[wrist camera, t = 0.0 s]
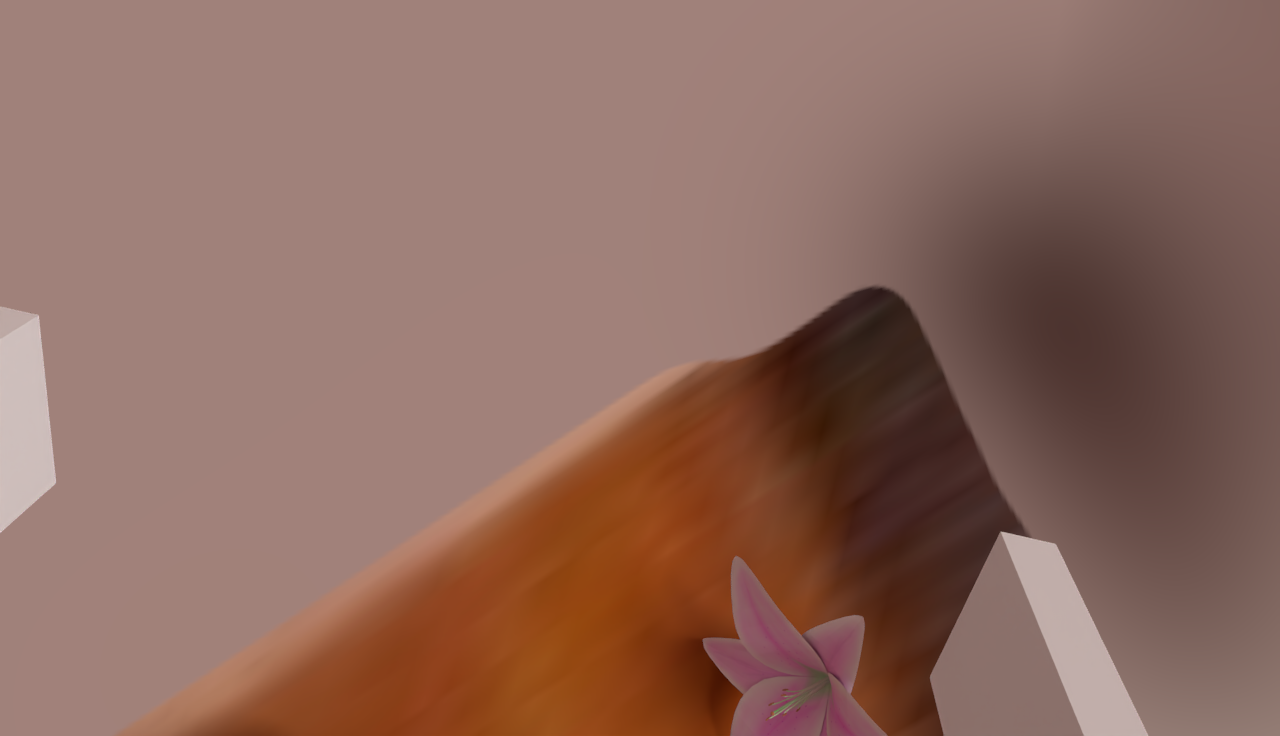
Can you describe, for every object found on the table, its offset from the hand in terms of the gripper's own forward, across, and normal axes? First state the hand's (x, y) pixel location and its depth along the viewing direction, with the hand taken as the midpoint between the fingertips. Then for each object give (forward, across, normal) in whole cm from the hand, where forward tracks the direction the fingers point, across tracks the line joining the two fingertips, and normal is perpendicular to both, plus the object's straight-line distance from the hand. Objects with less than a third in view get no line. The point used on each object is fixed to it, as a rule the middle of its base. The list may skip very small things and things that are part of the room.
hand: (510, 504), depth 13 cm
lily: (+26, -12, +26) cm, 39 cm away
